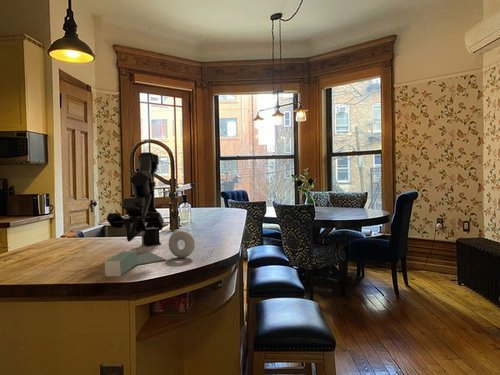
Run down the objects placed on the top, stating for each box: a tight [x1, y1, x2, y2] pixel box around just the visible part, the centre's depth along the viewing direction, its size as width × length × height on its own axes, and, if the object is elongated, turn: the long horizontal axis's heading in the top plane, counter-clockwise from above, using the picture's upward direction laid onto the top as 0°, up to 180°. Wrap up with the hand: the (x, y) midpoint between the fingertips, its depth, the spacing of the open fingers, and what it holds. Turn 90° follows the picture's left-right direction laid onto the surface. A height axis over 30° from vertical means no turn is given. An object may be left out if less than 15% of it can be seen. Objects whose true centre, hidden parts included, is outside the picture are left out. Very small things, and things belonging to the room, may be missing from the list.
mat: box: [112, 250, 167, 267], centre depth 133 cm, size 14×18×1 cm
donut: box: [168, 229, 196, 259], centre depth 133 cm, size 10×4×10 cm, turn 74°
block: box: [104, 250, 138, 277], centre depth 118 cm, size 4×4×12 cm
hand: (128, 240), depth 123 cm, fingers closed
